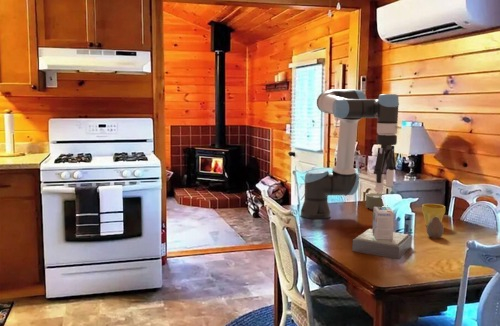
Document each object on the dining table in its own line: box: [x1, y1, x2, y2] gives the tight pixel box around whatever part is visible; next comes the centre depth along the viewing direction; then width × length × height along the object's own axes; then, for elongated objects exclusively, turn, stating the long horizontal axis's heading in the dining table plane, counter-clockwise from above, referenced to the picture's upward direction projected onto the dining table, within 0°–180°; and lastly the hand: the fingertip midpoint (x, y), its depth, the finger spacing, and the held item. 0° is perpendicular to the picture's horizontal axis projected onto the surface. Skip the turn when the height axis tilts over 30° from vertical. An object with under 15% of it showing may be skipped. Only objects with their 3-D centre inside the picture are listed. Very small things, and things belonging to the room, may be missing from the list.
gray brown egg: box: [426, 217, 445, 239], centre depth 213 cm, size 7×7×9 cm
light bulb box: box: [372, 206, 395, 240], centre depth 194 cm, size 11×7×11 cm, turn 174°
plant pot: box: [421, 203, 446, 227], centre depth 233 cm, size 10×10×10 cm
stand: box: [352, 228, 412, 260], centre depth 196 cm, size 18×18×5 cm
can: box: [365, 193, 385, 210], centre depth 272 cm, size 12×12×7 cm
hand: (384, 188), depth 193 cm, fingers open, 13 cm apart
